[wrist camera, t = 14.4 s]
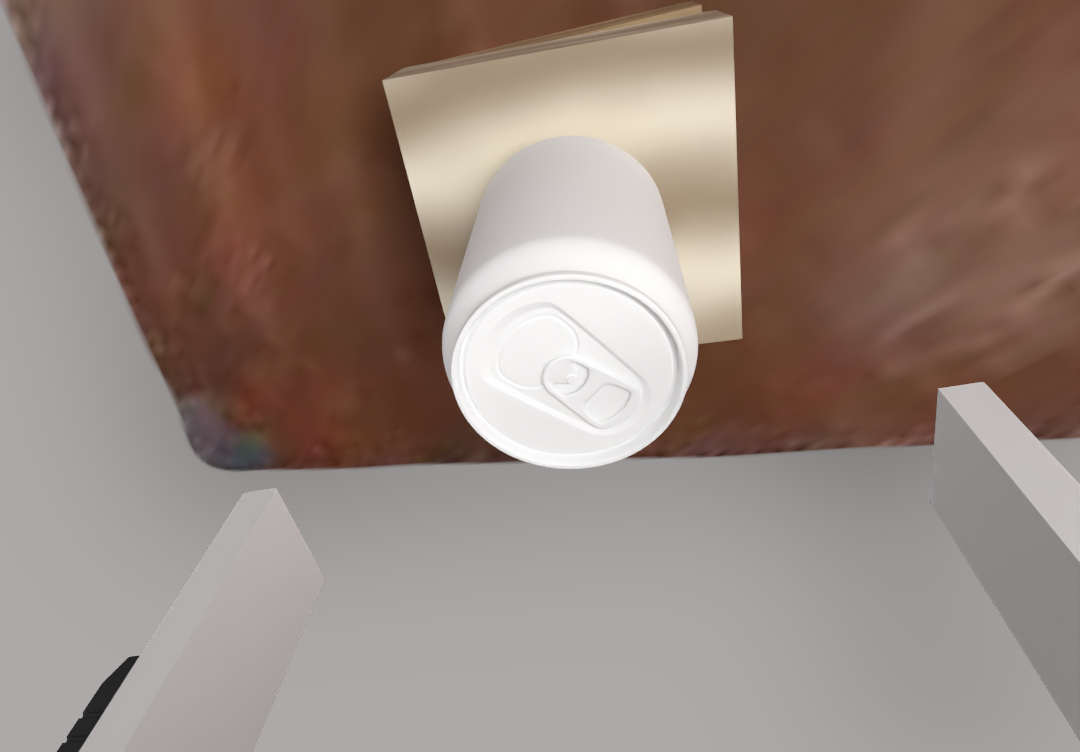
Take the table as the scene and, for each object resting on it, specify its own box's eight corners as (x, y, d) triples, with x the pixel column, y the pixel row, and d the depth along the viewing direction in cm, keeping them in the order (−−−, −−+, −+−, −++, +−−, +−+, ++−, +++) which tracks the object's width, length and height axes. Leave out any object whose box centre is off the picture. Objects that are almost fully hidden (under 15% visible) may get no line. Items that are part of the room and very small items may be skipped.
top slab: (403, 67, 32) (382, 80, 28) (715, 9, 30) (732, 16, 27) (470, 337, 39) (460, 373, 35) (727, 303, 37) (742, 338, 34)
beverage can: (553, 88, 28) (540, 199, 18) (702, 208, 30) (763, 363, 20) (445, 239, 31) (385, 399, 22) (585, 334, 34) (588, 515, 24)
